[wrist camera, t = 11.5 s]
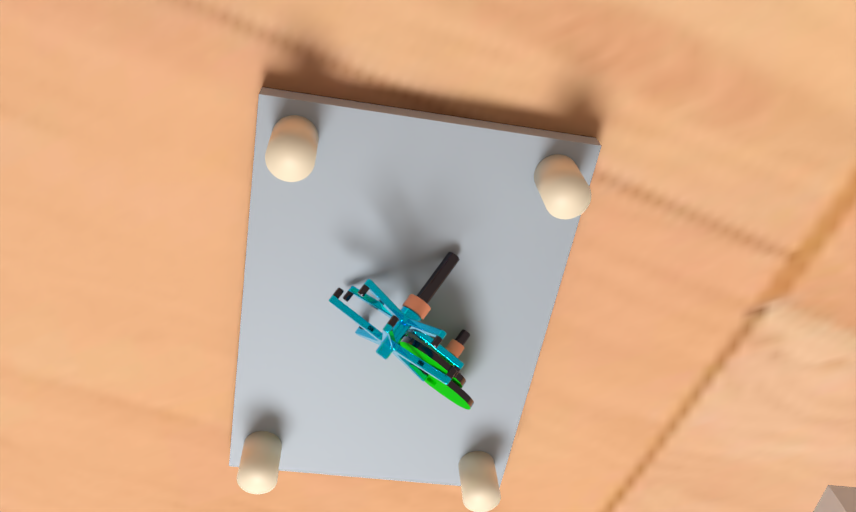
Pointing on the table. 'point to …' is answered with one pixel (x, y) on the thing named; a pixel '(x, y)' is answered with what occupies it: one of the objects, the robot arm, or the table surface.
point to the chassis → (396, 287)
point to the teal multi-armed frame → (407, 321)
